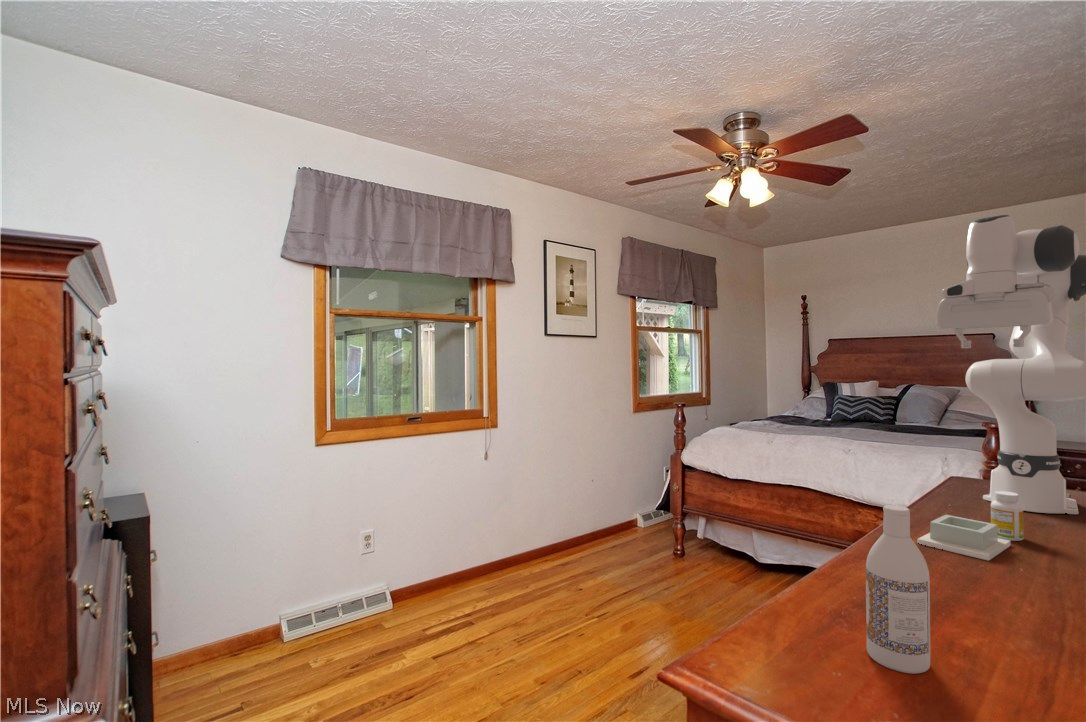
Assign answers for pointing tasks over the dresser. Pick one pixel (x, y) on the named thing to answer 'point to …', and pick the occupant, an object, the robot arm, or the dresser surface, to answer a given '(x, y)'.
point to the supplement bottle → (1007, 516)
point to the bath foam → (898, 597)
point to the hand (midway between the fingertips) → (991, 347)
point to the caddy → (965, 537)
